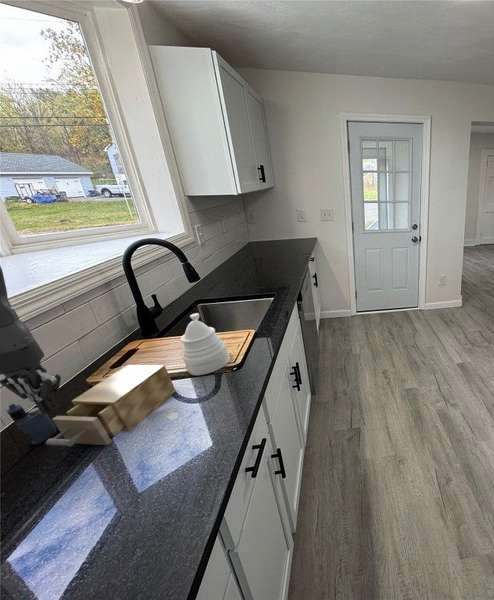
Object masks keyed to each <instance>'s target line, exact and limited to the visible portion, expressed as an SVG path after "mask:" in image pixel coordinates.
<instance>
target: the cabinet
mask: <svg viewBox="0 0 494 600" xmlns="http://www.w3.org/2000/svg"><path fill="white" fill-rule="evenodd" d="M176 391H177V390H176V388H175V386H174V383H173V381H172V379H171V377H170V374H169V372H168V370H167V368H166V365H164V364H126V365H125V366H123V367H122V368H120V369H119V370H117V371H116V372H114V373H112V374H111V375H109V376H108V377H106V378H104V379H103V380H101V381H100V382H99V383H97V384H95V385H94V386H92V387H91V388H89V389H87V390H86V391H85V392H83V393H82V394H80V395H79V396H77V397H75V398H73V399H72V400H71V403H72V405H73V406H74V407H75V406H76V405H78V404H105V405H113V406H114V408H115V410H116V412H117V413H118V415H119V417H120V419H121V420H122V422H123V424H124V426H125V427H124V428H123V429H122V430H120V431H119V432H131V431H132V430H134V428H136V427H137V426H138V425H139V424H140V423H141V422H143V421H144V420H145V419H146V418H148V417H149V415H151V414H153V412H154V411H155V410H157V409H158V408H159V407H160V406H161V405H162V404H164V402H165V401H167V400H168V399H169V398H170V397H171V396H172V395H174V394H175V393H176Z"/></svg>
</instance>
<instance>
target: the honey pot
mask: <svg viewBox="0 0 494 600" xmlns="http://www.w3.org/2000/svg"><path fill="white" fill-rule="evenodd" d="M189 318H190V319H191V321H190V322H189V323H188V324H187V326H186V329H185V332H184V334H183V335H182V336H181V337H180V342H181V343H183V347H182V354H183V355H182V361H183V363H184V365H185V368H186V370H187V373H188V374H189V375H192V376H203V375H207V374H211V373H214V372H215V371H218V370H220V369H222V368H223V367H225V366H226V365H227V364H228V363H229V362H230V361H231V360H230V359H231V356H230V353H229V351H228V348H227V345H226V343H225V342H224V341H222V339H221V338H220V336H219V335H218V334H216V329H215V328H214V327H213V326H208V325H206V324H205V323H203V321H200V320H199V319H200V313H199V312H196V313H192V314H190V315H189Z"/></svg>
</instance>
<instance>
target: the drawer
mask: <svg viewBox="0 0 494 600" xmlns="http://www.w3.org/2000/svg"><path fill="white" fill-rule="evenodd" d="M65 414H67V415H56V416H54V417H53V418H51V421H52V422H53V424H54V425H55V427H56V428H57V430H58V431H59V432H60V433H58V434H57V435H56V436H54V437H52V438H47V439H46V441H45V445H46V446H54V447H55V446H57V447H73V446H74V445H75V444H78V445H79V444H81V445H95V446H96V445H97V446H100V445H101V446H108V445H109V444H110V443H111V442H112V439H111V438H110V436H111V437H114V436H116V435H117V434H118V433H119V432H121V431H120V430H122V429H123V428H124V427H125V426H124V424H123V422H122V420H121V419H120V417H119V415H118V413H117V412H116V410H115V408H114V406H113V405H105V404H78V405H76V406H74V407H72V408H70V409H69V410H67V411H66V413H65ZM62 437H64V438H62Z"/></svg>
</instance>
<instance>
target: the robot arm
mask: <svg viewBox="0 0 494 600" xmlns="http://www.w3.org/2000/svg"><path fill="white" fill-rule="evenodd" d="M44 357H45V353H44V351H43V349H42V348H41V346H40V344H39V343H38V342H37V340H36V339H35V336H34V335H33V334H32V332H31V330H30V329H29V327H28V326H27V325H26V323H24V322H23V321H22V319H21V318H20V317H19V315H18V313H17V312H16V310H15V309H14V306H12V303H10V300H9V297H8V290H7V286H6V280H5V275H4V272H3V268H2V265H0V375H1V376H2V375H3V376H4V378H2V379H0V385H1V386H3V387H4V388H6V389H8V390H9V391H11V392H12V393H13V394H15V395H16V396H18V397H19V398H21V399H22V400H26V399H28V400H29V401H30V402H32V403H34V404H35V405H36V408H37V407H38V408H39V410H40V411H41V412H42V414H47V415H51V414H52V413H54V412H55V411H57V410H58V409H59V407H60V406H59V405H58V403H57V402H56V400H55V399H54V397H53V396H54V395H56V394H58V393H59V392H60V391H59V390H60V385H61V379H62V377H61V375H60V374H57V373H56V374H54V375H51V374H49V373H47V372H48V371H47V370H48V369H47V368H45V366H43V365H42V364H41V361H42V360H43V359H44Z"/></svg>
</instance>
